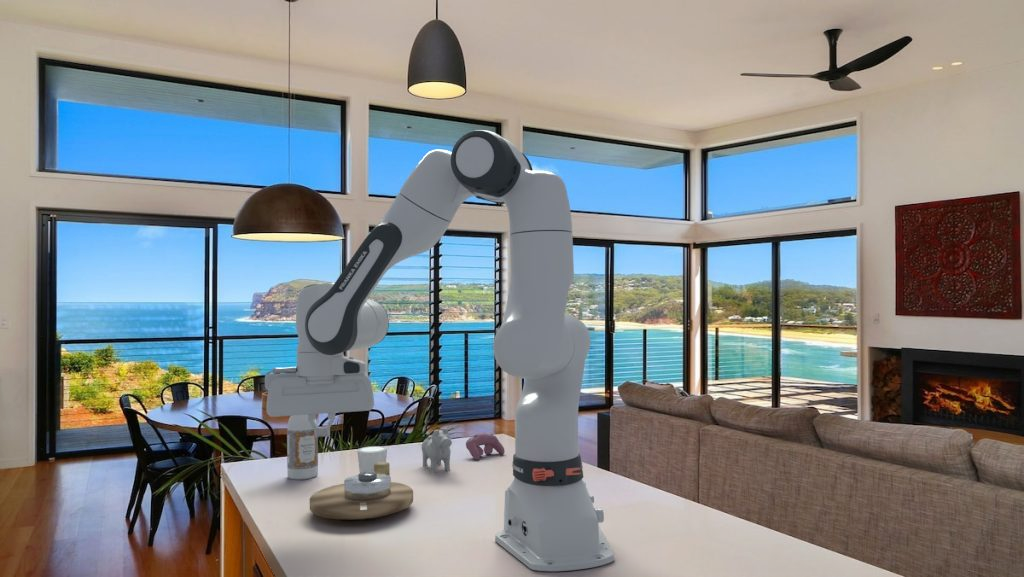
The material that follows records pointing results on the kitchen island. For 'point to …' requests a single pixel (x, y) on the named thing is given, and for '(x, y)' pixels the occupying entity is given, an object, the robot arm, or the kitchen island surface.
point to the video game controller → (483, 439)
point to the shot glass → (371, 457)
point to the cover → (367, 486)
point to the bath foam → (301, 448)
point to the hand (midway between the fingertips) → (322, 436)
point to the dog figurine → (437, 449)
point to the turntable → (338, 507)
